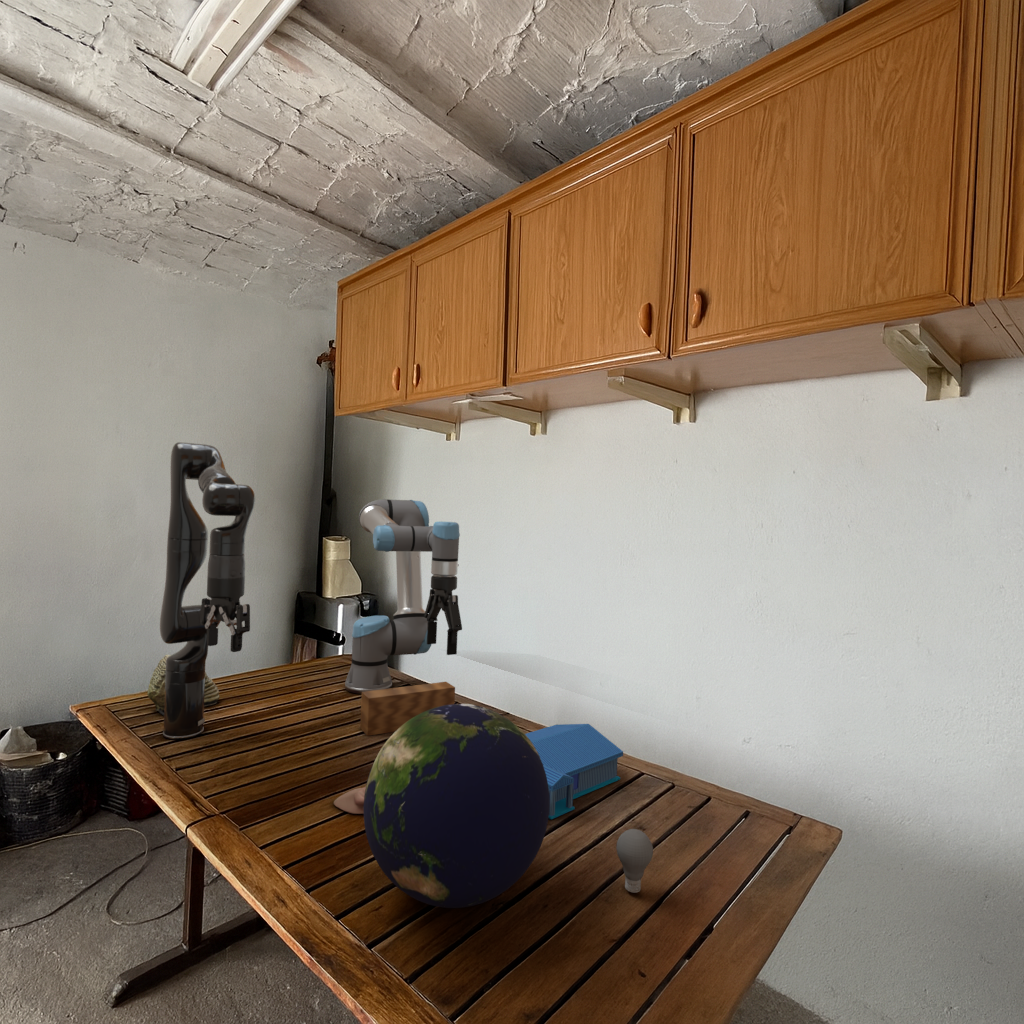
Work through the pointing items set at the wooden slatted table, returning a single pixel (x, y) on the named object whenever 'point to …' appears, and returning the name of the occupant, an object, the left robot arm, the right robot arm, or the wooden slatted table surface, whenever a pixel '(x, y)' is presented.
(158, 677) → the fossil
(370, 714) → the box
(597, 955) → the wooden slatted table surface
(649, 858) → the light bulb
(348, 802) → the anatomical model
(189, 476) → the left robot arm
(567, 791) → the model building
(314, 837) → the wooden slatted table surface
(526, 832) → the globe
